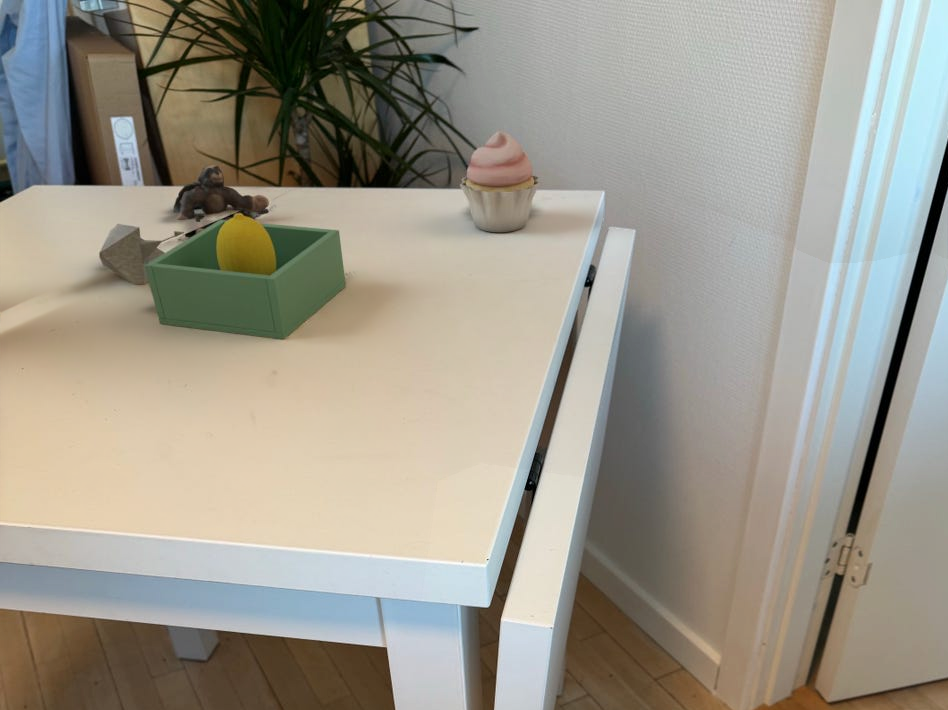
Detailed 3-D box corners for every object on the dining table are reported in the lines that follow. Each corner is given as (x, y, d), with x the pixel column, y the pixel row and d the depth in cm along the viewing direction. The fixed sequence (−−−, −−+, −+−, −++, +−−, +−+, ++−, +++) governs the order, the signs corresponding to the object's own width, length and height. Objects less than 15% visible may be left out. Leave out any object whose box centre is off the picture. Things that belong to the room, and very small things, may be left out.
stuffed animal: (166, 235, 103) (156, 147, 106) (187, 288, 113) (178, 206, 115) (269, 225, 104) (258, 138, 107) (282, 278, 114) (271, 197, 117)
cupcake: (450, 235, 105) (446, 139, 98) (474, 210, 111) (471, 118, 105) (528, 241, 103) (529, 143, 96) (548, 215, 109) (550, 122, 102)
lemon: (287, 287, 92) (273, 203, 87) (276, 308, 88) (260, 222, 83) (233, 287, 93) (216, 204, 87) (220, 309, 89) (201, 223, 83)
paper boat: (110, 249, 101) (186, 217, 100) (135, 305, 102) (210, 274, 101) (66, 219, 89) (152, 183, 88) (96, 283, 90) (181, 247, 90)
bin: (159, 323, 88) (143, 265, 84) (231, 274, 97) (220, 219, 93) (284, 339, 84) (273, 279, 81) (346, 286, 94) (339, 230, 90)
